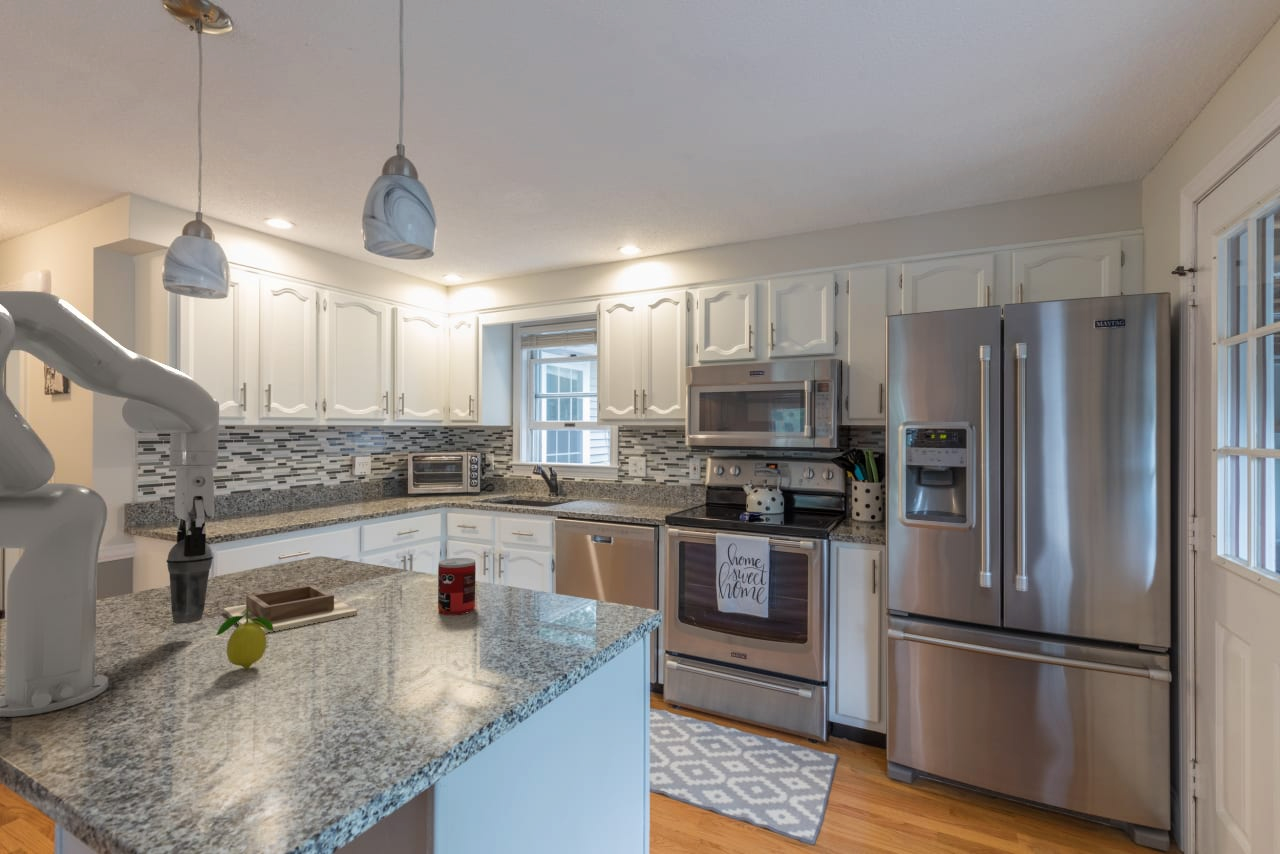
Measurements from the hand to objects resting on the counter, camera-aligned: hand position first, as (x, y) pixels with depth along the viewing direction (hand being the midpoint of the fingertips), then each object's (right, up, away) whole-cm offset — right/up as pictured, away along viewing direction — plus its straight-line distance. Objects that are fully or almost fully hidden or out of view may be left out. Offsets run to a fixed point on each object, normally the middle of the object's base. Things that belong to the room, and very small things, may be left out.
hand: (190, 552), depth 116 cm
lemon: (+21, -16, -16) cm, 31 cm away
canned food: (+46, -17, +19) cm, 52 cm away
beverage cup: (0, -13, -1) cm, 13 cm away
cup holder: (+10, -17, +15) cm, 25 cm away
